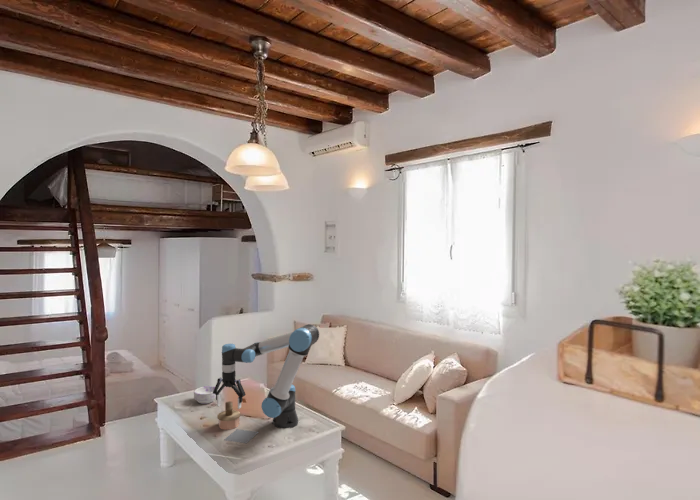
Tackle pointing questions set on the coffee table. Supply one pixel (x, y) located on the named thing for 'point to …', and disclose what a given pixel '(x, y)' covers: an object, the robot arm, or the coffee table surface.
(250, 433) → the mat
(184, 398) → the coffee table surface
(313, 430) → the coffee table surface
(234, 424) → the bowl
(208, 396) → the paper bowls
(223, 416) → the lid
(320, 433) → the coffee table surface
